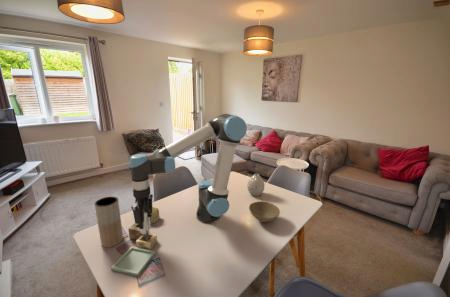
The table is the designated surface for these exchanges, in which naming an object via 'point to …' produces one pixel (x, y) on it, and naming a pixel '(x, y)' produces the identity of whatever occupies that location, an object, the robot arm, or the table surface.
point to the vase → (255, 185)
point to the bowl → (264, 211)
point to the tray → (133, 261)
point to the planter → (109, 221)
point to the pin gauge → (146, 236)
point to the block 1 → (134, 231)
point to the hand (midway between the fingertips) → (145, 230)
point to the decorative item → (154, 215)
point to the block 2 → (143, 243)
